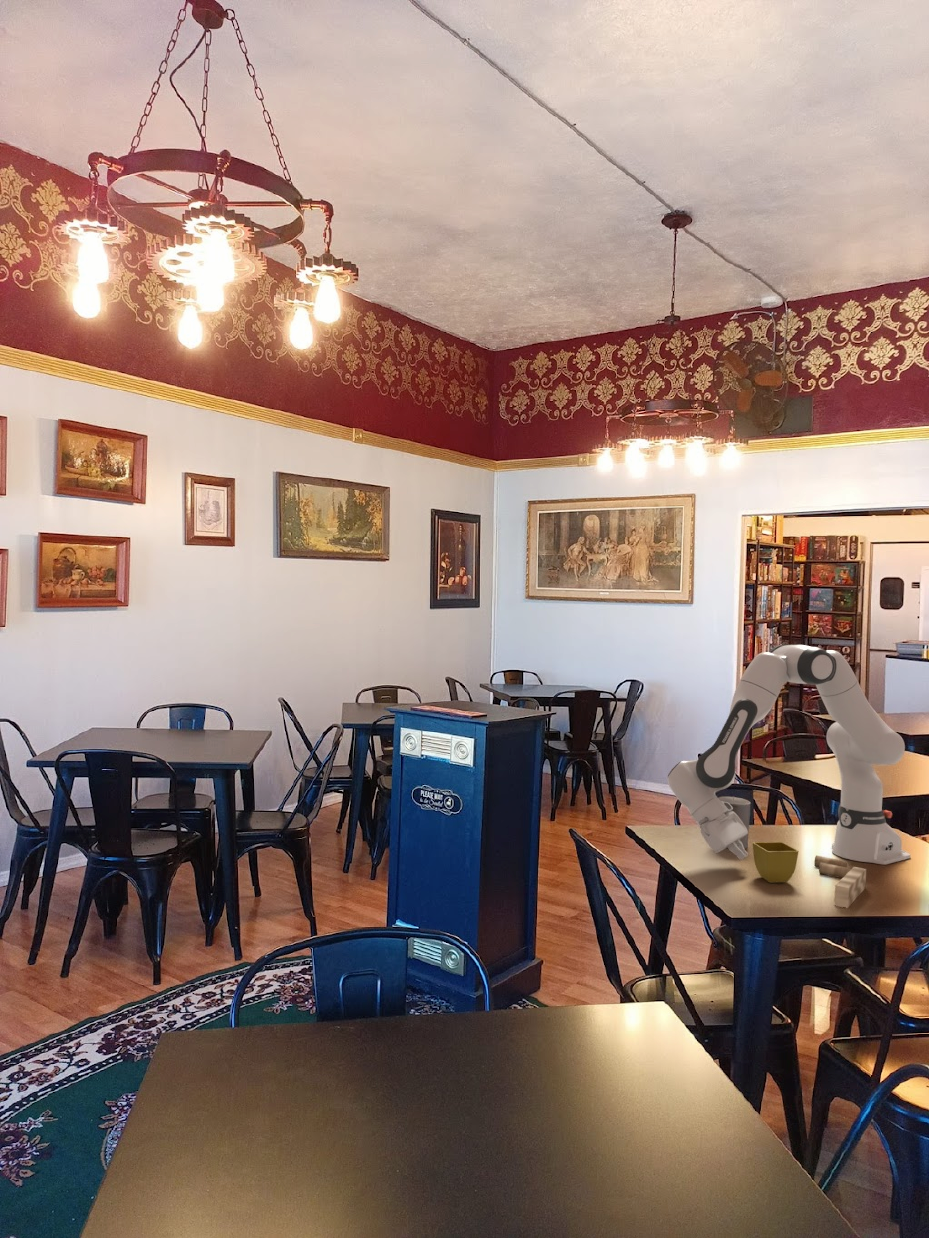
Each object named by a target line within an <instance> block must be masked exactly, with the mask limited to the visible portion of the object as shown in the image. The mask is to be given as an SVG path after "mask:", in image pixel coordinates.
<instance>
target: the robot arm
mask: <svg viewBox="0 0 929 1238" xmlns="http://www.w3.org/2000/svg"><path fill="white" fill-rule="evenodd" d="M858 680H859V679H857V677H856V674H855V672H854V671H853V669H852V667H851V666H850V664H849V663H848V661H847V659H846V658H845V657H844V655H842V653H840V652H839V651H837V650H835V649H834V650H833V649H827V650H825V649H823V648H821V647H818V646H809V645H806V644H805V645H804V644H788V643H787V644H786V643H785V644H779V645H776V646H774V647H772V648H771V649H770V650H769V651H763V652H760V653H758V654H757V655H756V656H754V657H753V658H752V661H751V662H750V663H749V665H748V666H747V668H746V669H745V670H744V672H743V674H742V676H741V677H740V679H739V682H738V684H737V685H736V688H735V691H734V693H733V696H732V699H731V700H732V701H731V705H730V709H729V713H728V717H727V719H726V721H725V723H724V724H723V726H722V729H721V730H720V733H719V735H718V736H717V738H716V740H715V742H714V743H713V744H712V745H711V747H710V748H709V749H707V750H706V751H704V752H703V753H702V754H701V755H700V756H699V758H698V759H695V760H694V759H693V760H681V761H679V762H678V763H676V764H675V765H674V766H673V767H672V768H671V770H670V771H669V773H668V775H667V779H666V781H667V784H668V787H670V788H669V789H670V790H671V791H672V793H673V794H674V796H675V797H676V798H677V799H678V801H679V802H680V803H681V804H682V805H683V806H684V807H686V808H687V810H688V812H689V815H690V816H691V818H692V819H693V820H694V821H695V822H696V824H697V825H698V826H699V828H700V834H701V836H702V838H703V839H704V840H705V842H706V843H707V845H708V846H709V847H710V849H711V850H712V851H713V852H714V853H716V854H719V853H720V852H722V851H723V850H725V849H727V848H728V850H729V852H731V853H732V854H734V855H735V856H736V857H737V858H738V859H739V860H740V861H741V860H743V859H745V858H746V857H747V856H749V853H748V852H747V851H746V849H744V847H743V844H742V842H741V841H740V839H741V838H743V837H744V836H745V835H746V834H748V831H747V828H746V826H745V825H744V824H743V822H742V821H741V820H740V818H739V817H738V816H737V814H736V813H735V812H733V811H731V810H732V809H733V807H732V806H731V805H730V804H729V803H727V802H723V801H721V800H719V799H718V798H719V797H718V796H717V795H716V793H718V792H720V791H721V790H725V789H727V788H729V787H730V786H731V785H732V784H733V783H734V781H735V778H736V757H737V754H738V752H739V750H740V748H741V746H742V744H743V742H744V741H745V739H746V737H747V734H748V733H749V731H750V730H751V728H752V727H753V726H754V725H755V724H756V723H759V722H760V721H762V720H764V718H766V716H767V715H768V714H769V713H770V711H771V710H772V709H773V707H774V705H775V703H776V701H777V699H778V697H779V695H780V693H781V691H782V689H783V686H785V684H786V683H791V684H797V685H798V684H803V685H810V686H815V688H816V689H817V692H818V693H819V696H820V698H821V700H822V702H823V705H824V706H825V709H826V711H827V713H828V715H829V716H830V717H831V719H833V721H835V722H833V723H832V724H831V725H830V726H829V728H827V732H826V738H825V740H826V743H827V745H828V747H829V748H830V750H831V751H832V752H833V754H834V757H835V759H836V762H837V765H838V769H839V773H840V775H839V776H840V780H841V783H840V788H841V789H840V804H839V806H838V809H837V810H838V811H837V812H838V814H837V815H838V821H837V823H836V824H837V825H836V829H835V836H834V842H832V843H831V848H832V850H831V852H832V854H834V855H836V856H838V857H841V858H843V859H846V860H850V861H856V862H864V863H872V864H878V865H883V866H885V865H889V864H892V863H896V862H900V861H904V860H908V859H910V858H911V854H910V853H909V852H907V851H905V850H903V849H902V847H903V846H902V843H903V842H902V838H901V836H900V835H899V834H898V833H897V832H896V831H895V830H894V829H893V828H892V827H891V826H890V825H889V824H888V823H887V821H886V818H887V819H892V817H893V813H892V811H890V810H887V809H885V810H884V809H882V807H883V793H884V792H883V789H884V785H883V782H882V781H881V779H880V778H879V776H878V775H877V773H876V771H875V769H874V766H873V765H875V766H894V765H895V764H897V763H899V762H901V760H902V758H903V756H904V755H905V751H906V750H905V749H906V745H905V741H904V739H903V738H902V736H901V735H900V734H899V733H897V732H896V731H894V729H892V728H891V727H890V726H889V725H888V724H887V723H886V722H885V721H884V720H883V719H882V717H881V716H880V715H879V714H878V712H876V711H875V709H874V708H873V706H872V705H871V703H869V701H868V699H867V696H866V695H865V694H864V691H863V689H862V687H861V685H860V683H859V681H858ZM748 835H749V834H748Z"/></svg>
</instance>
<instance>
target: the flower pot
mask: <svg viewBox="0 0 929 1238" xmlns="http://www.w3.org/2000/svg"><path fill="white" fill-rule="evenodd" d="M752 853H753V861H754V865H755V868H756V870H757V873H758V874H759V876H760V877H761V878H762V879H763V880H765V881H767V882H768V883H772V884H773V883H788V882H789V881H790V879H791V878H792V876H793V874H794V873H795V872H796V871H795V870H796V867H797V861H798V856H799V850H798V849H796V848H794V847H793V846H790V845H789V844H787V843H785V842H783V841H766V842H765V841H761V842H760V841H758V842H757V841H755V842H753V841H752Z"/></svg>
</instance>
